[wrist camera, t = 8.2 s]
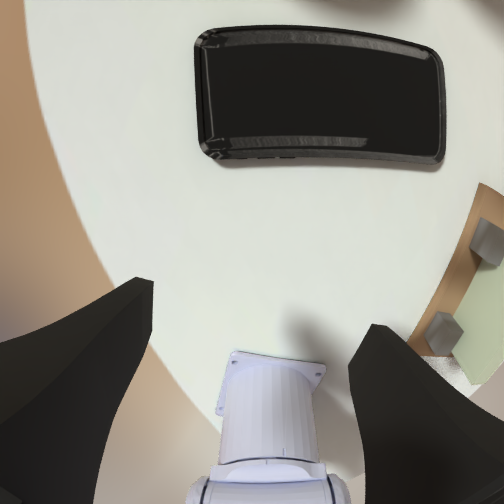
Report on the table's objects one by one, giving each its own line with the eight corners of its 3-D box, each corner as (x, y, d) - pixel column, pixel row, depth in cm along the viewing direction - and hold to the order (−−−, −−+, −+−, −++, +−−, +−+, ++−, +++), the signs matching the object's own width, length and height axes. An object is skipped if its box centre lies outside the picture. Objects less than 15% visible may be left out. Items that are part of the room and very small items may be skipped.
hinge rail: (453, 350, 22) (468, 374, 19) (403, 347, 21) (417, 375, 18) (522, 210, 16) (548, 225, 12) (479, 182, 15) (510, 195, 12)
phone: (193, 31, 12) (442, 51, 11) (197, 36, 13) (433, 53, 12) (200, 163, 15) (444, 168, 14) (203, 160, 16) (436, 165, 15)
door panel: (454, 337, 20) (485, 383, 14) (440, 335, 20) (471, 385, 14) (506, 235, 16) (554, 269, 10) (494, 228, 16) (545, 264, 10)
